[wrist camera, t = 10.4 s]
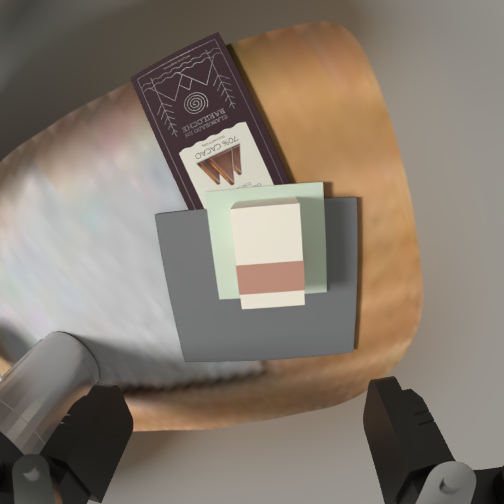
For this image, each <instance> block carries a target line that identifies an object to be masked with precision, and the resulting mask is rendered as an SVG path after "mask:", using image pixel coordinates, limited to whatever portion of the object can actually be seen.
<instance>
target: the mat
mask: <svg viewBox="0 0 504 504" xmlns="http://www.w3.org/2000/svg"><path fill="white" fill-rule="evenodd" d="M205 197H206V205H207V209H199V210H190V211H189V210H183V211H175V212H166V213H158V214H155V220H156V226H157V232H158V238H159V244H160V250H161V255H162V261H163V266H164V271H165V276H166V281H167V286H168V291H169V296H170V301H171V305H172V310H173V314H174V319H175V323H176V328H177V332H178V336H179V340H180V344H181V348H182V352H183V356H184V360H185V362H223V361H255V360H274V359H289V358H302V357H314V356H324V355H333V354H342V353H351V352H353V347H354V334H355V318H356V298H357V258H358V235H357V197H338V198H324V193H323V182H312V183H297V184H283V185H270V186H258V187H247V188H237V189H227V190H217V191H208V192H205ZM283 197H296V199H297V200H298V202H299V203H300V218H301V234H302V252H303V260H304V279H305V290H304V297H305V305H297V306H284V307H270V308H255V309H242V306H241V299H240V295H239V288H238V280H237V272H236V258H235V249H234V241H233V232H232V224H231V215H230V208H231V207H232V206H233V205H234V203H235V202H237V201H248V200H259V199H271V198H283Z"/></svg>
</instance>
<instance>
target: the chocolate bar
mask: <svg viewBox="0 0 504 504" xmlns="http://www.w3.org/2000/svg"><path fill="white" fill-rule="evenodd" d="M131 81H132V83H133V85H134V88H135V90H136V93H137V95H138V97H139V100H140V102H141V104H142V107H143V109H144V111H145V114H146V116H147V118H148V121H149V123H150V125H151V128H152V130H153V132H154V134H155V137H156V139H157V141H158V143H159V146H160V148H161V150H162V152H163V155H164V157H165V159H166V161H167V164H168V166H169V168H170V170H171V172H172V175H173V177H174V179H175V181H176V183H177V185H178V188H179V190H180V192H181V194H182V196H183V198H184V200H185V203H186V205H187V207H188V209H189V211H190V210H199V209H207V205H206V197H205V192H208V191H217V190H227V189H237V188H247V187H258V186H270V185H283V184H290V182H289V179H288V177H287V175H286V172H285V170H284V168H283V166H282V163H281V161H280V159H279V156H278V154H277V152H276V150H275V147H274V145H273V143H272V141H271V138H270V136H269V134H268V132H267V130H266V128H265V125H264V123H263V121H262V119H261V117H260V115H259V112H258V110H257V108H256V106H255V104H254V102H253V100H252V98H251V96H250V94H249V92H248V89H247V87H246V85H245V83H244V81H243V79H242V77H241V75H240V73H239V71H238V69H237V67H236V65H235V63H234V61H233V59H232V57H231V55H230V54H229V52H228V50H227V48H226V46H225V44H224V42H223V40H222V38H221V37H220V35H219V33H218V32H217V33H215V34H213V35H211V36H208V37H206V38H204V39H202V40H200V41H198V42H195V43H193V44H191V45H189V46H187V47H185V48H183V49H181V50H179V51H177V52H175V53H173V54H172V55H169V56H168V57H166V58H164V59H162V60H160V61H159V62H157V63H155V64H153V65H151V66H149V67H148V68H146V69H144V70H143V71H141V72H139V73H138V74H136V75H135V76H133V77H131Z"/></svg>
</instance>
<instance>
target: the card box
mask: <svg viewBox="0 0 504 504" xmlns="http://www.w3.org/2000/svg"><path fill="white" fill-rule="evenodd" d="M230 215H231V224H232V232H233V241H234V249H235V258H236V272H237V280H238V288H239V295H240V299H241V306H242V309H255V308H270V307H284V306H297V305H305V297H304V290H305V279H304V260H303V252H302V234H301V218H300V203H299V202H298V200H297V199H296V197H283V198H271V199H259V200H248V201H237V202H235V203H234V205H233V206H232V207H231V208H230Z"/></svg>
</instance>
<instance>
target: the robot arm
mask: <svg viewBox="0 0 504 504" xmlns="http://www.w3.org/2000/svg"><path fill="white" fill-rule="evenodd" d="M99 377H100V374H99V368H98V365H97V363H96V361H95V359H94V357H93V356H92V354H91V353H90V352H89V350H88V349H87V348H86V347H85V346H84V345H83V344H82V343H81V342H80V341H78V340H77V339H75V338H74V337H72V336H70V335H68V334H66V333H62V332H53V333H51V334H49V335H48V336H47V337H46V338H45V339H44V340H40V341H39V342H37V343H36V344H35V345H34V346H33V347H32V348H31V349H30V350H29V351H28V352H27V353H26V354H25V355H24V356H23V357H22V358H21V359H20V360H19V361H18V362H17V363H16V364H14V365H13V366H12V367H11V368H10V369H9V370H8V371H7V372H6V373H5V374H4V375H3V378H2V381H1V382H0V504H87V502H88V500H92V501H96V502H99V503H101V502H102V500H103V498H104V495H105V493H106V491H107V488H108V486H109V484H110V481H111V479H112V477H113V474H114V472H115V470H116V467H117V465H118V463H119V461H120V458H121V456H122V454H123V452H124V450H125V447H126V445H127V443H128V441H129V438H130V436H131V434H132V431H133V418H132V415H131V413H130V411H129V409H128V406H127V404H126V402H125V399H124V397H123V395H122V392H121V390H120V388H119V387H118V386H116V385H109V384H101V383H98V381H99ZM363 423H364V430H365V434H366V437H367V440H368V444H369V447H370V451H371V454H372V458H373V461H374V465H375V469H376V472H377V475H378V479H379V483H380V487H381V491H382V495H383V498H384V502H385V504H504V466H503V467H498V468H491V469H484V470H472V469H471V468H470V467H469V466H468V465H466V464H464V463H462V462H456V461H455V459H454V458H453V456H452V454H451V452H450V450H449V448H448V446H447V444H446V442H445V440H444V438H443V436H442V434H441V432H440V430H439V428H438V426H437V424H436V423H435V422H434V419H433V417H432V415H431V413H430V412H429V410H428V407H427V406H426V404H425V402H424V400H423V399H422V397H420V396H419V395H418V394H417V393H415V392H414V391H413V390H412V389H407V390H403V391H402V389H401V387H400V385H399V383H398V382H397V379H396V378H395V377H394V376H391V377H386V378H380V379H374V380H371V381H370V382H369V386H368V392H367V398H366V404H365V409H364V414H363Z"/></svg>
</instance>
